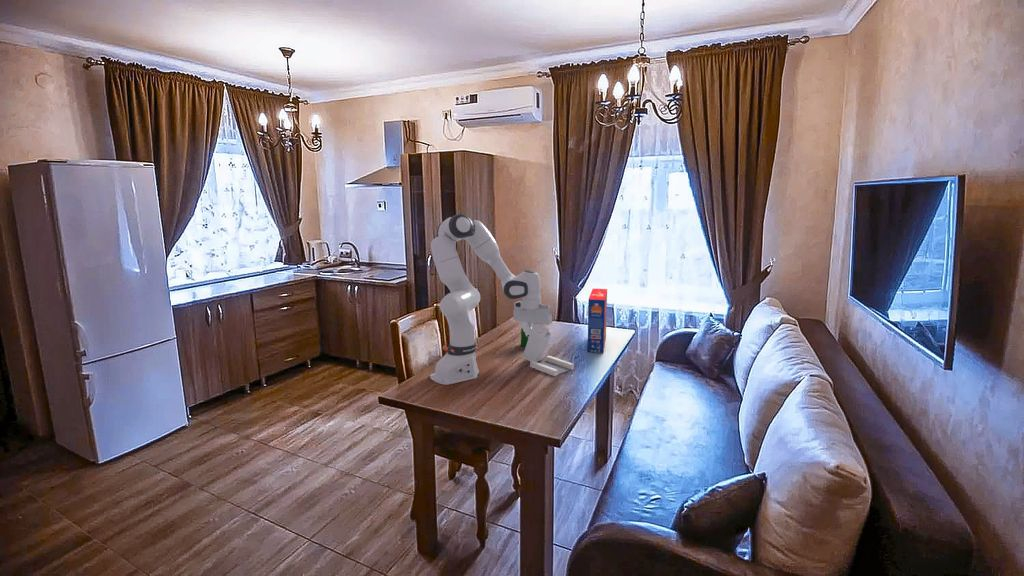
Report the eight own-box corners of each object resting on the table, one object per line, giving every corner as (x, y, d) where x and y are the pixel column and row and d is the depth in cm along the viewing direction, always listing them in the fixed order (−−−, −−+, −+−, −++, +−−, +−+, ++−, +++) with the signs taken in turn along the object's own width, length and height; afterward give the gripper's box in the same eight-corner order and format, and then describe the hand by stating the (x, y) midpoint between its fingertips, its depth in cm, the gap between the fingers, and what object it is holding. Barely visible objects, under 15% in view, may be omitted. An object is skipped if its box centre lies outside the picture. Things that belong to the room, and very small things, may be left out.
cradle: (554, 376, 215) (554, 370, 215) (530, 366, 227) (530, 361, 226) (574, 368, 224) (574, 363, 223) (549, 360, 235) (549, 355, 235)
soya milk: (527, 341, 265) (527, 306, 261) (541, 344, 259) (541, 308, 255) (518, 346, 258) (517, 309, 254) (532, 349, 253) (531, 312, 249)
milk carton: (530, 352, 239) (541, 320, 231) (542, 359, 236) (553, 327, 228) (522, 356, 234) (533, 323, 226) (533, 364, 230) (544, 331, 222)
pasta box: (603, 353, 244) (604, 299, 239) (587, 352, 246) (588, 299, 241) (605, 337, 271) (607, 289, 266) (591, 336, 273) (592, 288, 268)
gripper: (554, 304, 227) (554, 332, 229) (518, 300, 238) (519, 327, 241) (547, 307, 222) (548, 336, 224) (510, 303, 233) (512, 330, 236)
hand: (532, 331), depth 233 cm, fingers closed
